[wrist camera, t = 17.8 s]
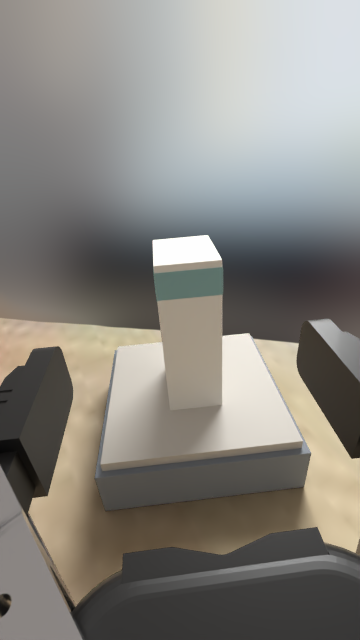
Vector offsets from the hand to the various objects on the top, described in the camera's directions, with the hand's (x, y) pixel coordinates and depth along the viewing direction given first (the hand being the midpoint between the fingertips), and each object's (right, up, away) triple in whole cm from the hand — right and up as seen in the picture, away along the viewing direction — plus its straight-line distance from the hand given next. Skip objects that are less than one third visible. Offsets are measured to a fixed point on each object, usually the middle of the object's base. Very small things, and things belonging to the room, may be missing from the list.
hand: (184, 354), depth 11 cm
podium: (+1, -9, +22) cm, 24 cm away
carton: (+1, -5, +19) cm, 20 cm away
